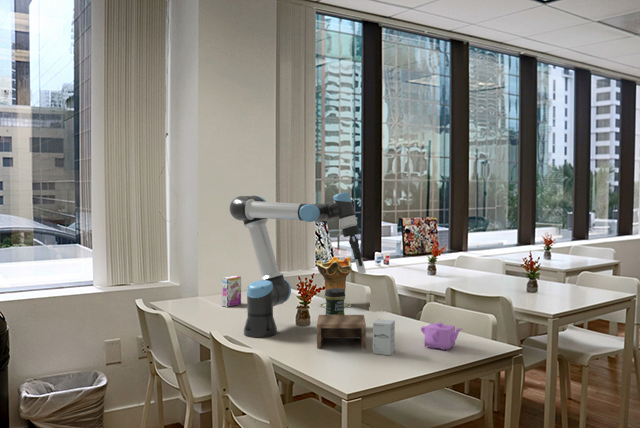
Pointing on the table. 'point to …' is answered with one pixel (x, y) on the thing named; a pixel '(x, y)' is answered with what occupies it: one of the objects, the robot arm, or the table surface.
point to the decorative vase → (335, 274)
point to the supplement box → (383, 336)
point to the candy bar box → (231, 291)
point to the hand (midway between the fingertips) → (362, 273)
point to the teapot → (440, 335)
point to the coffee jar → (335, 301)
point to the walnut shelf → (341, 327)
